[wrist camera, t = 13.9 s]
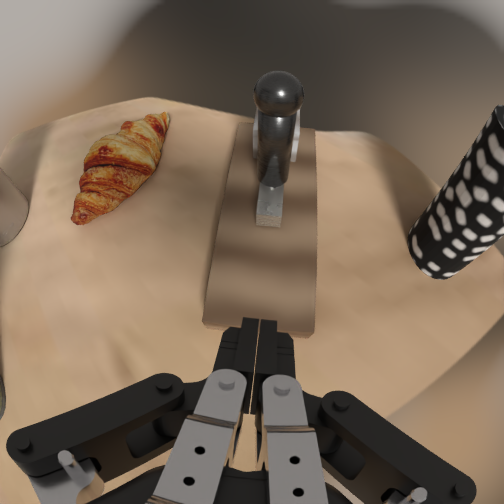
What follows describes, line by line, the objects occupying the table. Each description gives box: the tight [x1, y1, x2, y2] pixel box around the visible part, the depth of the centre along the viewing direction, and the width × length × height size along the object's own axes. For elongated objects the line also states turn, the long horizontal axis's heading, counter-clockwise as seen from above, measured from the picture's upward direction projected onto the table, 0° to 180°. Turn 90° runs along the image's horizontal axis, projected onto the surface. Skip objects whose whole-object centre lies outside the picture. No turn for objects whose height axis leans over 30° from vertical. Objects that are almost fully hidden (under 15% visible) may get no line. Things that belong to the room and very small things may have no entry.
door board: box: [202, 107, 317, 338], centre depth 31 cm, size 26×10×8 cm, turn 174°
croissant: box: [71, 112, 169, 225], centre depth 36 cm, size 21×10×8 cm, turn 158°
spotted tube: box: [408, 105, 504, 280], centre depth 24 cm, size 8×8×20 cm
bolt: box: [253, 71, 304, 227], centre depth 26 cm, size 12×4×14 cm, turn 174°
